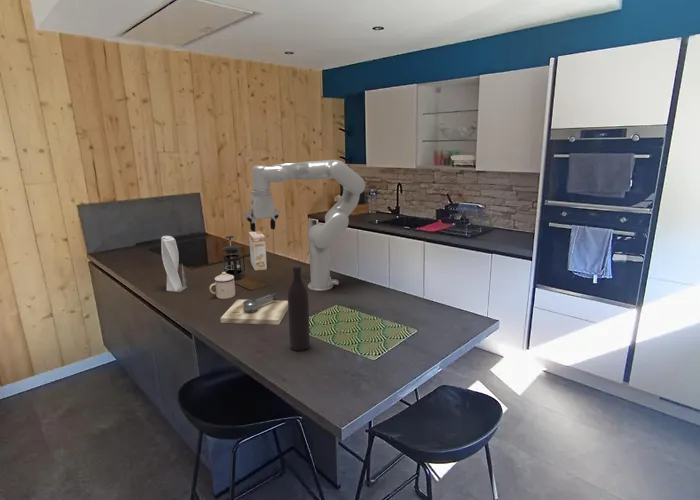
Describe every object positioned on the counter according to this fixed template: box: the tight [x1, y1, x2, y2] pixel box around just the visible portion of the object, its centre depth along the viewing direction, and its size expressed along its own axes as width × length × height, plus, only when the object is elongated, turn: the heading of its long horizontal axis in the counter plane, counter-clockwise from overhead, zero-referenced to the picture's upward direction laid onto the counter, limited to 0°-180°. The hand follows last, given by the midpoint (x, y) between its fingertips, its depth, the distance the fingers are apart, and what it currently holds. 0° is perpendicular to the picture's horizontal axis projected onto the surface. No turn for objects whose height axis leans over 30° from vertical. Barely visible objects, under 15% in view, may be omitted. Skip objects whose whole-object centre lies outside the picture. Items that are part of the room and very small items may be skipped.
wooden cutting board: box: [220, 299, 288, 326], centre depth 174 cm, size 24×20×3 cm
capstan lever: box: [237, 292, 278, 312], centre depth 175 cm, size 20×6×3 cm, turn 140°
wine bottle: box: [287, 264, 311, 352], centre depth 143 cm, size 7×7×30 cm
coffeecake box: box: [248, 230, 268, 272], centre depth 236 cm, size 15×7×20 cm, turn 22°
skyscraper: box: [160, 235, 188, 293], centre depth 199 cm, size 8×8×28 cm
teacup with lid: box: [209, 271, 236, 300], centre depth 192 cm, size 12×9×12 cm
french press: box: [221, 235, 246, 282], centre depth 216 cm, size 12×9×23 cm
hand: (263, 230), depth 191 cm, fingers open, 9 cm apart
